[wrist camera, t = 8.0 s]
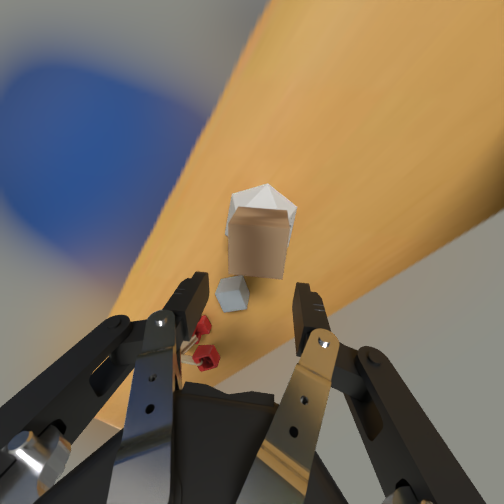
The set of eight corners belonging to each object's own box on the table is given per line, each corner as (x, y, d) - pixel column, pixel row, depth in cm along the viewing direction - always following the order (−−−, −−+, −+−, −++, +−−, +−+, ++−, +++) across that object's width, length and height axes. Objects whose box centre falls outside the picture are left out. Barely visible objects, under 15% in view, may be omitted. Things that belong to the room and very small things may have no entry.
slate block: (242, 274, 34) (238, 289, 31) (249, 292, 36) (246, 309, 33) (221, 278, 35) (214, 293, 32) (228, 296, 37) (223, 312, 34)
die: (262, 248, 32) (304, 265, 24) (210, 241, 28) (240, 259, 20) (273, 196, 31) (321, 195, 23) (220, 180, 27) (257, 172, 19)
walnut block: (287, 210, 21) (290, 228, 16) (281, 253, 23) (282, 279, 19) (238, 206, 21) (228, 223, 17) (237, 249, 23) (228, 274, 19)
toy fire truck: (162, 319, 42) (134, 364, 33) (224, 310, 39) (209, 357, 30) (170, 331, 43) (144, 376, 35) (230, 322, 40) (217, 371, 32)
